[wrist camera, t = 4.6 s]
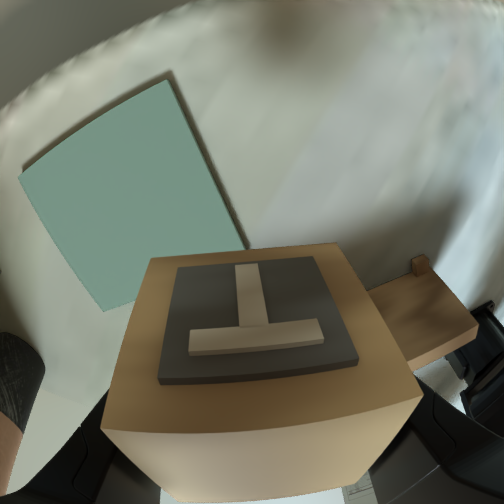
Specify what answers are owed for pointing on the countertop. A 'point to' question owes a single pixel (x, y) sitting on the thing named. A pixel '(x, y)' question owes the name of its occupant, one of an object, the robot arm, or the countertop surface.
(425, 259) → the screen
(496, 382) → the robot arm
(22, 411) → the travel mug
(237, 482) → the letter block
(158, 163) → the mat
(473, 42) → the countertop surface
